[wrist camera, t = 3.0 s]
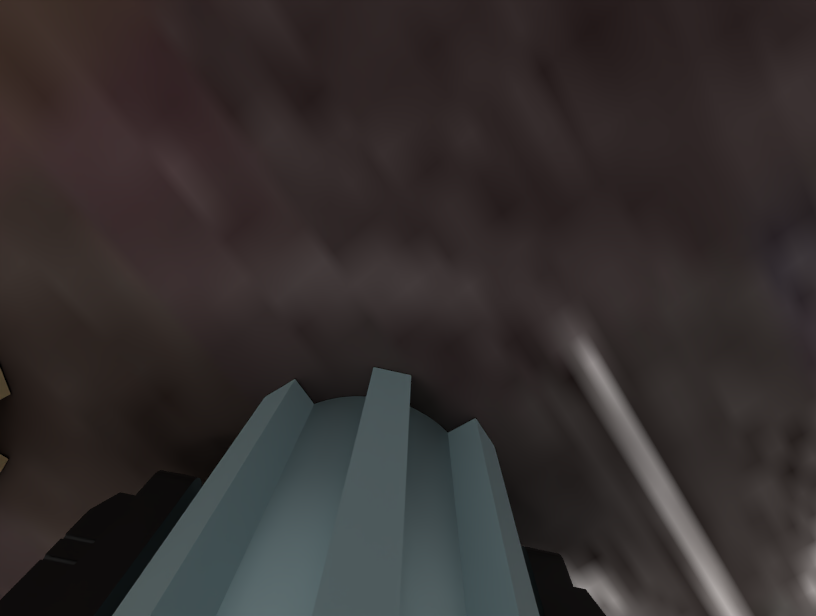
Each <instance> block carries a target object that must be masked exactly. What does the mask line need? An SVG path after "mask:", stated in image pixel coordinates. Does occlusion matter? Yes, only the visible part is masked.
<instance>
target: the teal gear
mask: <svg viewBox="0 0 816 616" xmlns="http://www.w3.org/2000/svg"><path fill="white" fill-rule="evenodd" d="M410 391H411V375H408V374H403V373H399V372H394V371H389V370H385V369H380V368H376V367H373V371H372V375H371V379H370V383H369V387H368V391H367V395H366V396H349V397H339V398H334V399H329V400H325V401H322V402H319V403H316V404H314V403H313V402H312V401H311V399H310V398H309V397H308V395H307V394H306V393H305V391H304V390H303V389H302V387H301V386H300V385H299V383H298V382H297V381H296V379H294V380H292V381H291V382H289V383H287V384H286V385H284V386H282V387H281V388H279V389H277V390H276V391H274V392H272V393H271V394H269V395H267V396H266V397H264V399H263V400H262V402H261V403H260V405H259V406H258V407H257V409H256V410H255V412H254V413H253V415H252V416H251V417H250V419H249V420H248V422H247V423H246V425H245V426H244V427H243V429H242V430H241V432H240V433H239V435H238V436H237V438H236V439H235V440H234V442H233V443H232V445H231V446H230V448H229V449H228V450H227V452H226V453H225V455H224V456H223V458H222V459H221V460H220V462H219V463H218V465H217V466H216V468H215V469H214V470H213V472H212V473H211V475H210V476H209V478H208V479H207V480H206V482H205V483H204V485H203V486H202V488H201V489H200V491H199V492H198V493H197V495H196V496H195V498H194V499H193V501H192V502H191V503H190V505H189V506H188V508H187V509H186V511H185V512H184V513H183V515H182V516H181V518H180V519H179V521H178V522H177V523H176V525H175V526H174V528H173V529H172V531H171V532H170V533H169V535H168V536H167V538H166V539H165V541H164V542H163V544H162V545H161V546H160V548H159V549H158V551H157V552H156V554H155V555H154V556H153V558H152V559H151V561H150V562H149V564H148V565H147V566H146V568H145V569H144V571H143V572H142V574H141V575H140V576H139V578H138V579H137V581H136V582H135V584H134V585H133V586H132V588H131V589H130V591H129V592H128V594H127V595H126V597H125V598H124V599H123V601H122V602H121V604H120V605H119V607H118V608H117V609H116V611H115V612H114V614H113V615H112V616H539V612H538V608H537V604H536V601H535V597H534V593H533V589H532V586H531V582H530V578H529V574H528V571H527V567H526V563H525V559H524V556H523V552H522V548H521V544H520V540H519V537H518V533H517V529H516V525H515V522H514V518H513V514H512V510H511V507H510V503H509V499H508V495H507V492H506V488H505V484H504V480H503V477H502V473H501V469H500V465H499V462H498V458H497V454H496V450H495V447H494V445H493V443H492V442H491V440H490V439H489V437H488V436H487V434H486V433H485V431H484V430H483V428H482V427H481V425H480V424H479V422H478V421H477V419H476V418H475V419H473V420H471V421H469V422H467V423H465V424H463V425H461V426H460V427H458V428H456V429H454V430H452V431H450V432H447V431H446V430H445V429H443V428H442V427H441V426H440V425H439V424H438V423H436V422H435V421H434V420H432V419H431V418H430V417H428V416H427V415H425V414H423V413H421V412H420V411H418V410H416V409H414V408H412V407H410Z"/></svg>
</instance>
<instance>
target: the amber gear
mask: <svg viewBox="0 0 816 616" xmlns="http://www.w3.org/2000/svg"><path fill="white" fill-rule="evenodd" d="M8 395H10V391H9V389H8V386H7V384H6V381H5V379H4V376H3V374H2V371H1V368H0V400H1V399H3V398H5V397H6V396H8ZM7 461H8V458H6V457H4V456H3V455H1V454H0V472H1V471H2V469H3V467H4V466H5V464H6V462H7Z"/></svg>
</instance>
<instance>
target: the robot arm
mask: <svg viewBox="0 0 816 616" xmlns="http://www.w3.org/2000/svg"><path fill="white" fill-rule="evenodd" d="M201 487H202V482H201V479H200V478H197V477H193V476H188V475H183V474H178V473H173V472H168V471H164V470H160V471H158V472H157V473H155V474H154V475H153V476H152V478H151V479H150V480H149V481H148V482H147V483H146V484H145V485H144V487H143V488H142V489H141V490H140V491H139V492H138V493H137V494H136V496H135V495H130V494H125V493H118V494H116V495H115V496H113V497H111V498H109V499H108V500H106V501H104V502H102V503H101V504H99V505H97V506H95V507H93V508H92V509H90V510H89V511H88V512H87V513H86V514H85V515H84V516H83V517H82V518H81V519H80V520H79V521H78V522H77V523H76V524H75V525H74V526H73V527H72V528H71V529H70V530H69V531H68V532H67V533H66V535H65V537H64V539H60V540H59V541H58V542H57V543H56V544H55V545H54V546H53V547H52V548H51V549H50V550H49V551H48V552H47V553H46V555H45V558H44V559H43V560H39V561H38V562H37V563H36V565H35V566H34V567H33V568H32V569H31V570H30V571H29V572H28V573H27V574H26V575H25V576H24V577H23V578H22V579H21V580H20V581H19V582H18V583H17V584H16V585H15V586H14V587H13V588H12V589H11V590H10V591H9V592H8V593H7V594H6V595H5V596H4V597H3V598H2V599H1V600H0V616H112V615H113V614H114V612H115V611H116V609H117V608H118V607H119V605H120V604H121V602H122V601H123V599H124V598H125V597H126V595H127V594H128V592H129V591H130V589H131V588H132V586H133V585H134V584H135V582H136V581H137V579H138V578H139V576H140V575H141V574H142V572H143V571H144V569H145V568H146V566H147V565H148V564H149V562H150V561H151V559H152V558H153V556H154V555H155V554H156V552H157V551H158V549H159V548H160V546H161V545H162V544H163V542H164V541H165V539H166V538H167V536H168V535H169V533H170V532H171V531H172V529H173V528H174V526H175V525H176V523H177V522H178V521H179V519H180V518H181V516H182V515H183V513H184V512H185V511H186V509H187V508H188V506H189V505H190V503H191V502H192V501H193V499H194V498H195V496H196V495H197V493H198V492H199V491H200V489H201ZM521 548H522V552H523V556H524V559H525V563H526V567H527V571H528V574H529V578H530V582H531V586H532V589H533V593H534V597H535V601H536V604H537V608H538V612H539V616H606V615H605V614H604V613H603V611H602V610H601V609H600V607H599V606H598V605H597V604H596V602H595V601H594V600H593V598H592V597H591V596H590V594H589V593H588V592H587V591H586V589H581V588H576V587H573V584H572V582H571V579H570V576H569V573H568V571H567V568H566V565H565V562H564V560H563V558H562V557H561V555H559V554H557V553H553V552H548V551H543V550H538V549H533V548H529V547H524V546H521Z"/></svg>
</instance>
